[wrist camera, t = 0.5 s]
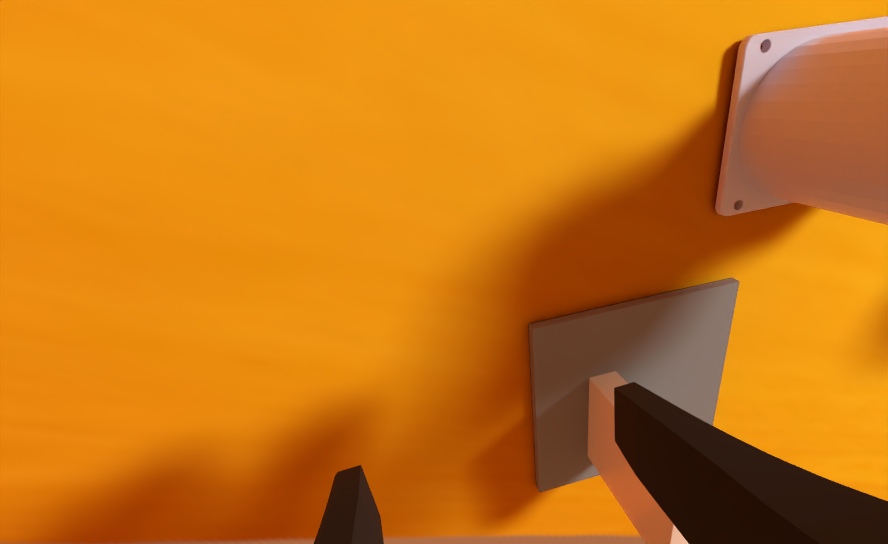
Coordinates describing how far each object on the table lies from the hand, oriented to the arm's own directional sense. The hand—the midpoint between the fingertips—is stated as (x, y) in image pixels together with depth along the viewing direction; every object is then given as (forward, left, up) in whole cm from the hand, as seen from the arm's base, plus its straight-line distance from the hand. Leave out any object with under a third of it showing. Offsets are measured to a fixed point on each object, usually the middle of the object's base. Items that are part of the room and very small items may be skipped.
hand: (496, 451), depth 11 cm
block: (-9, +10, -9) cm, 16 cm away
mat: (-11, +9, -9) cm, 17 cm away
